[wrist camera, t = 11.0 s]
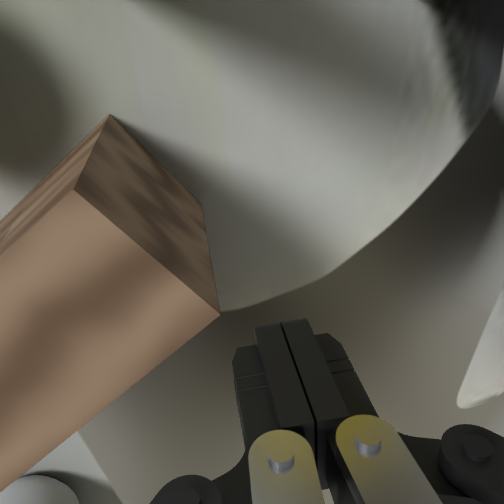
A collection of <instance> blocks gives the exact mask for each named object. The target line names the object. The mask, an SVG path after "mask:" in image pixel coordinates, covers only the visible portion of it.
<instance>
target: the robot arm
mask: <svg viewBox="0 0 504 504" xmlns="http://www.w3.org/2000/svg"><path fill="white" fill-rule="evenodd" d="M253 340H254V345H252V346H246V347H240V348H237V350H236V353H235V356H234V358H233V361H232V365H233V374H234V382H235V391H236V399H237V406H238V411H239V417H240V423H241V428H242V433H243V439H244V445H245V453H244V455H243V457H242V459H241V460H240V461H239V463H238V464H237V465H236V466H235V467H234V468H233V469H232V470H230V471H229V472H227V473H226V474H224V475H222V476H220V477H218V478H216V479H215V480H212V481H211V480H209V479H207V478H205V477H202V476H199V475H185V476H181V477H178V478H176V479H173V480H172V481H170V482H169V483H167V484H166V485H165V486H164V487H163V488H162V489H161V490H160V491H159V492H158V494H157V495H156V496H155V497H154V499H153V500H152V501H151V503H150V504H325V502H324V498H323V494H322V490H323V489H328V488H329V489H330V492H331V495H332V498H333V501H334V504H504V437H502V436H500V435H498V434H496V433H493V432H491V431H489V430H487V429H485V428H483V427H479V426H476V425H469V424H462V425H456V426H453V427H451V428H449V429H448V430H447V431H446V432H445V433H444V434H443V436H442V439H441V440H439V439H430V438H419V437H412V436H408V435H404V434H401V433H399V432H397V431H396V430H395V429H394V427H392V425H390V424H389V423H388V422H386V421H385V420H383V419H381V418H379V416H378V415H377V413H376V411H375V409H374V407H373V405H372V403H371V401H370V399H369V397H368V395H367V393H366V392H365V390H364V388H363V386H362V384H361V382H360V380H359V378H358V376H357V374H356V372H354V368H353V366H352V364H351V362H350V360H348V356H347V354H346V352H345V350H344V348H343V346H342V345H341V343H339V342H338V341H337V340H336V339H335V338H333V337H332V336H331V335H330V334H328V333H325V334H319V335H314V334H313V331H312V329H311V327H310V324H309V322H308V320H307V319H306V318H302V319H295V320H289V321H283V322H280V324H279V323H278V322H277V323H271V324H265V325H258V326H253Z"/></svg>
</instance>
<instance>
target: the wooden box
mask: <svg viewBox="0 0 504 504" xmlns="http://www.w3.org/2000/svg"><path fill="white" fill-rule="evenodd" d="M220 315H221V314H220V308H219V302H218V297H217V291H216V285H215V280H214V274H213V268H212V263H211V257H210V251H209V246H208V240H207V234H206V229H205V223H204V217H203V212H202V206H201V203H200V202H199V201H198V200H197V199H196V198H195V197H193V196H192V195H191V194H190V193H189V192H188V191H187V190H186V189H185V188H184V187H183V186H182V185H181V184H180V183H179V182H178V181H177V180H176V179H175V178H174V177H173V176H172V175H171V174H170V173H169V172H168V171H167V170H166V169H165V168H164V167H163V166H162V165H161V164H160V163H159V162H158V161H157V160H156V159H155V158H154V157H153V156H152V155H151V154H150V153H149V152H148V151H147V150H146V149H145V148H144V147H143V146H142V145H141V144H139V143H138V142H137V141H136V140H135V139H134V138H133V137H132V136H131V135H130V134H129V133H128V132H127V131H126V130H125V129H124V128H123V127H122V126H121V125H120V124H119V123H118V122H117V121H116V120H115V119H114V118H113V117H112V116H111V115H110V114H109V115H108V116H107V117H106V118H105V119H104V120H103V121H102V122H101V123H100V124H99V125H98V126H97V127H96V128H95V129H94V130H93V131H92V132H91V133H90V134H89V135H87V136H86V137H85V138H84V139H83V140H82V141H81V142H80V143H79V144H78V145H77V146H76V147H75V148H74V149H73V150H72V151H71V152H70V153H69V154H68V155H67V156H66V157H65V158H64V159H63V160H62V161H61V162H60V163H59V164H58V165H57V166H56V167H55V168H54V169H53V170H52V171H51V172H50V173H49V174H48V175H47V176H46V177H45V178H44V179H43V180H42V181H41V182H40V183H39V184H38V185H37V186H35V187H34V188H33V189H32V190H31V191H30V192H29V193H28V194H27V195H26V196H25V197H24V198H23V199H22V200H21V201H20V202H19V203H18V204H17V205H16V206H15V207H14V208H13V209H12V210H11V211H10V212H9V213H8V214H7V215H6V216H5V217H4V218H3V219H2V220H1V221H0V492H2V491H3V490H4V489H5V488H7V487H8V486H9V485H10V484H12V483H13V482H14V481H15V480H16V479H18V478H19V477H20V476H21V475H23V474H24V473H25V472H26V471H28V470H29V469H30V468H31V467H33V466H34V465H35V464H36V463H38V462H39V461H40V460H41V459H43V458H44V457H45V456H46V455H47V454H49V453H50V452H51V451H52V450H54V449H55V448H56V447H57V446H59V445H60V444H61V443H62V442H64V441H65V440H66V439H67V438H69V437H70V436H71V435H72V434H73V433H75V432H76V431H77V430H78V429H80V428H81V427H82V426H83V425H85V424H86V423H87V422H88V421H90V420H91V419H92V418H93V417H95V416H96V415H97V414H98V413H99V412H101V411H102V410H103V409H104V408H106V407H107V406H108V405H109V404H111V403H112V402H113V401H114V400H115V399H117V398H118V397H119V396H121V395H122V394H123V393H124V392H126V391H127V390H128V389H129V388H130V387H132V386H133V385H134V384H135V383H137V382H138V381H139V380H140V379H141V378H143V377H144V376H145V375H147V374H148V373H149V372H150V371H151V370H153V369H154V368H155V367H156V366H158V365H159V364H160V363H161V362H163V361H164V360H165V359H166V358H168V357H169V356H170V355H171V354H173V353H174V352H175V351H176V350H178V349H179V348H180V347H181V346H182V345H184V344H185V343H186V342H187V341H189V340H190V339H191V338H192V337H194V336H195V335H196V334H197V333H199V332H200V331H201V330H202V329H204V328H205V327H206V326H207V325H208V324H210V323H211V322H212V321H213V320H215V319H216V318H217V317H218V316H220Z"/></svg>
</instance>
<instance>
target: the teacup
mask: <svg viewBox="0 0 504 504" xmlns="http://www.w3.org/2000/svg"><path fill="white" fill-rule="evenodd" d="M0 504H79V501H78V499H77V497H76V495H75V493H74V492H73V491H72V490H71V489H70V488H69V487H68V486H67V485H65V484H64V483H62V482H60V481H58V480H56V479H54V478H52V477H48V476H43V475H30V476H24V477H20V478H18V479H16V480H15V481H14V482H13V483H12V484H10V485H9V486H8V487H7V488H5V489H4V490H3V491H2V492H0Z"/></svg>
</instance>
